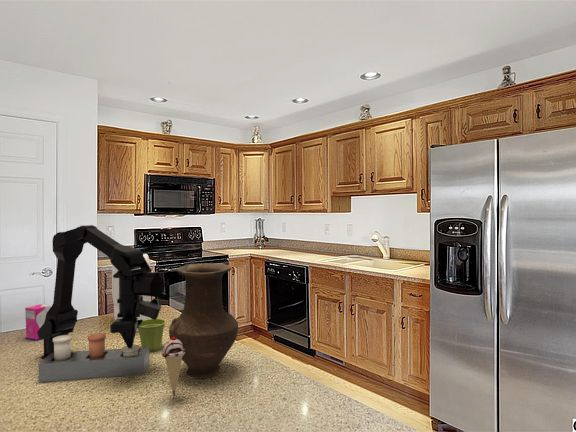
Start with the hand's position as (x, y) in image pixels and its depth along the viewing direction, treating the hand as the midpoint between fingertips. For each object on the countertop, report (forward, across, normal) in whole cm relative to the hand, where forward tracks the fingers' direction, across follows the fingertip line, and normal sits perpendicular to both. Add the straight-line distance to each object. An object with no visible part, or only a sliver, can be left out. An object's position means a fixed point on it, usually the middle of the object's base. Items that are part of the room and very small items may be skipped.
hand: (130, 347), depth 111 cm
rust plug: (+2, 0, +9) cm, 9 cm away
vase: (+7, -5, -21) cm, 23 cm away
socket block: (+6, 0, +9) cm, 11 cm away
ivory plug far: (+6, 0, 0) cm, 6 cm away
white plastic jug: (+7, +44, +10) cm, 46 cm away
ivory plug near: (+2, 0, +18) cm, 18 cm away
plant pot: (+7, +17, -3) cm, 18 cm away
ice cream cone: (+7, -19, -14) cm, 25 cm away
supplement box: (+7, +36, +39) cm, 53 cm away
